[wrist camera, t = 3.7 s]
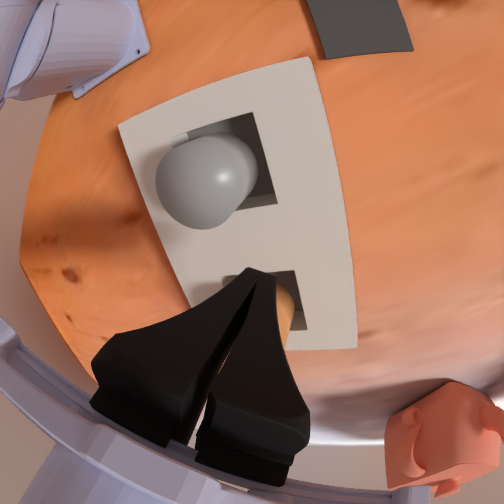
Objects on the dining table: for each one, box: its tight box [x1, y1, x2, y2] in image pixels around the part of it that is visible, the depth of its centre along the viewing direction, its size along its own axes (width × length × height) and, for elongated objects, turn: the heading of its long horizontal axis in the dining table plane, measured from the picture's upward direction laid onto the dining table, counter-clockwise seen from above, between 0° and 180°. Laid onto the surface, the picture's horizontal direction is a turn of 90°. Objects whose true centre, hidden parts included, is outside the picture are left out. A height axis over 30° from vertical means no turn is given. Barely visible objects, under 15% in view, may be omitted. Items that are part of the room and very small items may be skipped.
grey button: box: [155, 132, 258, 230], centre depth 16 cm, size 5×5×4 cm
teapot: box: [385, 382, 504, 498], centre depth 21 cm, size 20×19×14 cm
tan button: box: [230, 284, 295, 351], centre depth 21 cm, size 5×5×4 cm
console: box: [118, 57, 357, 350], centre depth 22 cm, size 14×22×3 cm, turn 16°
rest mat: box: [306, 0, 414, 60], centre depth 12 cm, size 6×6×1 cm
